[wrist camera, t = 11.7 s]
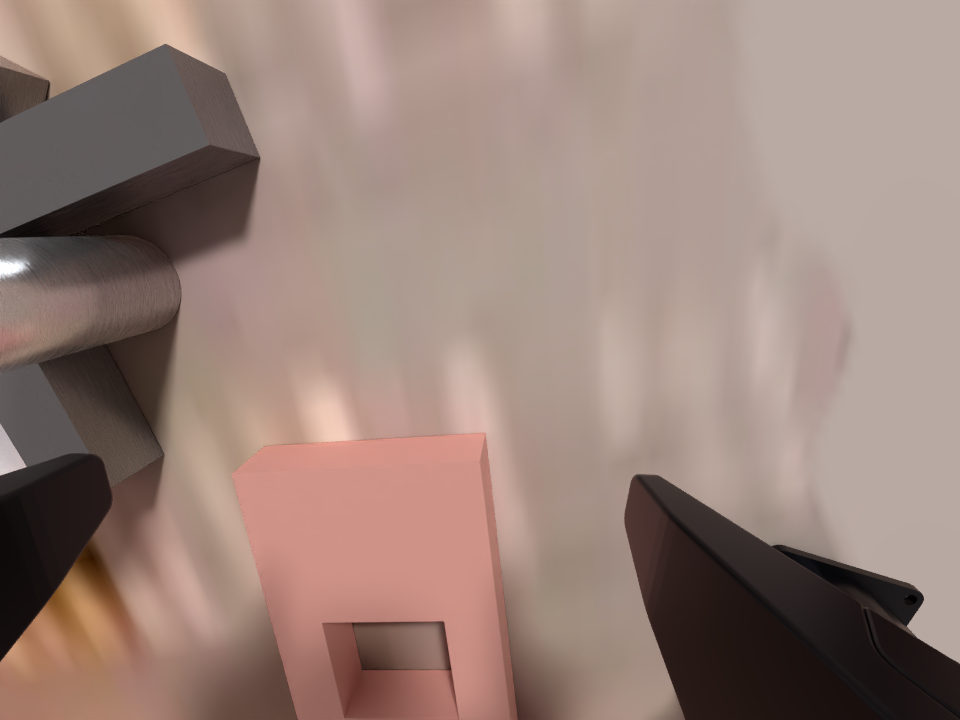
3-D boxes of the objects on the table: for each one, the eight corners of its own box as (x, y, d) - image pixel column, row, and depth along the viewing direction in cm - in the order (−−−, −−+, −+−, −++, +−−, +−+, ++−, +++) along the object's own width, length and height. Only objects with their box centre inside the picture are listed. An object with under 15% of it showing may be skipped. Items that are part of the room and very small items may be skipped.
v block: (278, 101, 18) (229, 77, 15) (152, 490, 23) (98, 528, 20) (-65, -78, 17) (-186, -140, 14) (-113, 362, 22) (-208, 383, 19)
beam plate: (264, 446, 22) (231, 473, 19) (485, 433, 20) (479, 460, 18) (344, 773, 27) (326, 827, 24) (524, 778, 26) (524, 836, 23)
